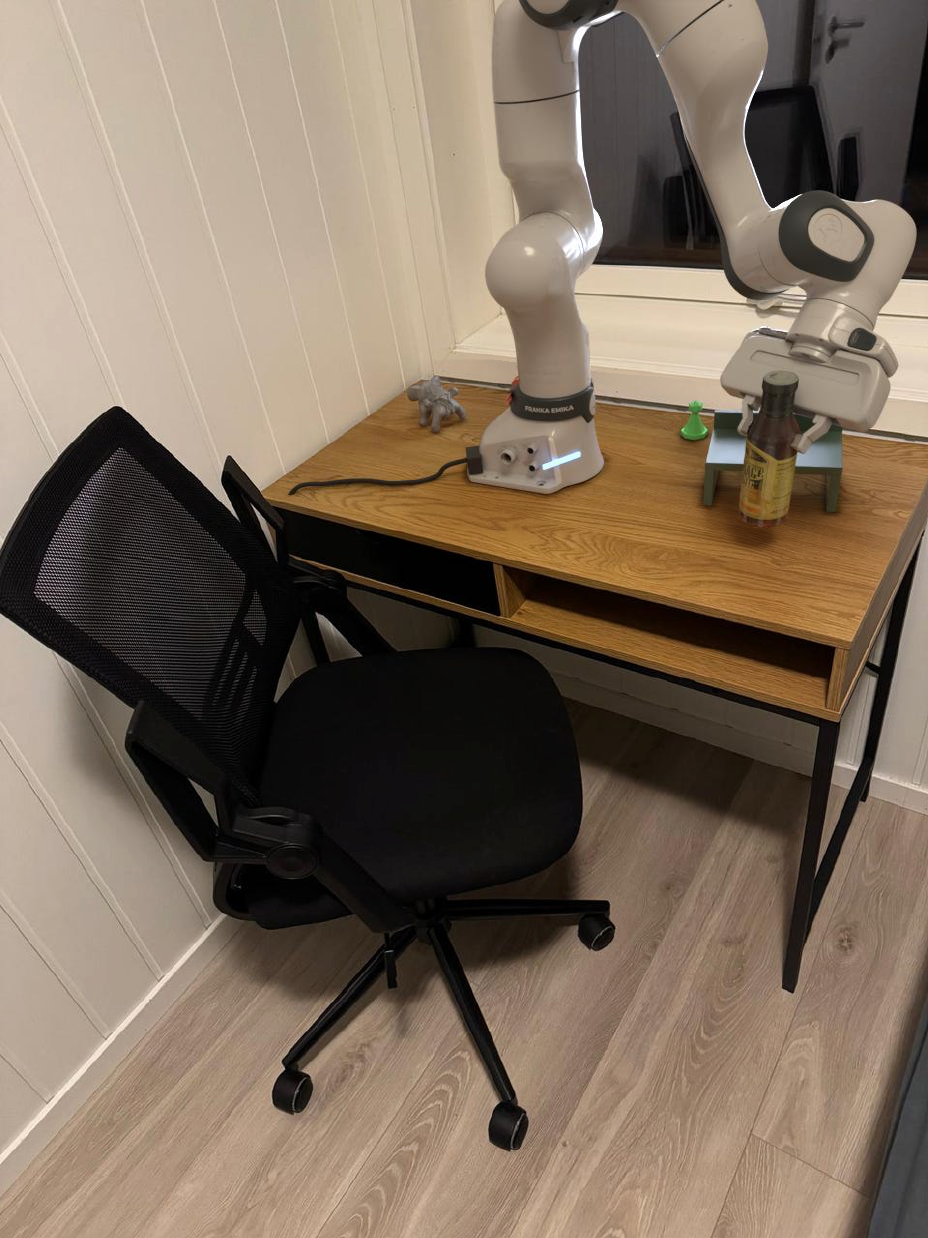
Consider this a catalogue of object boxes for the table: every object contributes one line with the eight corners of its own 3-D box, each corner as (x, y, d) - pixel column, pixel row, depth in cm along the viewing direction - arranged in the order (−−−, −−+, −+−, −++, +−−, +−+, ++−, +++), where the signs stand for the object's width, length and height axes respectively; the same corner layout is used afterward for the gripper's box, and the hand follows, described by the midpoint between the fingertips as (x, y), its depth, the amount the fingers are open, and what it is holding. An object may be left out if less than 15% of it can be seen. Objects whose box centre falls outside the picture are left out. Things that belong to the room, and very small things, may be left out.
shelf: (703, 505, 125) (706, 445, 120) (711, 466, 134) (715, 409, 128) (835, 512, 120) (845, 450, 114) (835, 471, 128) (844, 411, 123)
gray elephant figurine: (446, 437, 155) (439, 397, 150) (394, 427, 161) (386, 389, 156) (473, 416, 160) (468, 376, 156) (422, 407, 167) (416, 370, 162)
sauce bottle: (731, 509, 116) (743, 368, 103) (777, 503, 115) (794, 361, 103) (748, 535, 110) (762, 389, 98) (796, 528, 110) (816, 381, 98)
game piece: (694, 426, 146) (695, 392, 142) (713, 433, 143) (714, 400, 139) (675, 434, 144) (676, 401, 141) (694, 442, 141) (695, 408, 138)
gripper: (743, 312, 108) (691, 411, 110) (899, 343, 95) (837, 455, 97) (761, 335, 113) (710, 430, 115) (912, 368, 100) (853, 475, 101)
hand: (770, 442), depth 106 cm, fingers closed on sauce bottle, 6 cm apart
